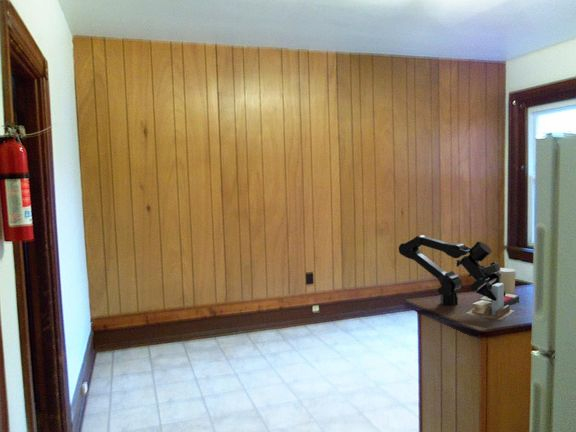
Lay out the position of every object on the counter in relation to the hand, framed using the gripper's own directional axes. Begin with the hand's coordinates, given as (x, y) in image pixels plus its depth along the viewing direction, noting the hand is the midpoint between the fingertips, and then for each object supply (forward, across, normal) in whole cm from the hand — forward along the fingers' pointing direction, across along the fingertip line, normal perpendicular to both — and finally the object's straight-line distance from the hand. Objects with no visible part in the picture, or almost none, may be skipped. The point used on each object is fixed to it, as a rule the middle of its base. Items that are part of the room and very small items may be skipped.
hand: (500, 297), depth 188 cm
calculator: (+1, +17, +11) cm, 20 cm away
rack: (+3, 0, +9) cm, 9 cm away
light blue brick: (+4, 0, +6) cm, 7 cm away
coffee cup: (-2, +35, +14) cm, 38 cm away
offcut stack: (0, 0, +10) cm, 10 cm away
